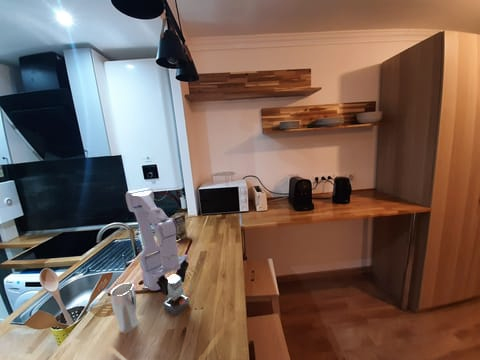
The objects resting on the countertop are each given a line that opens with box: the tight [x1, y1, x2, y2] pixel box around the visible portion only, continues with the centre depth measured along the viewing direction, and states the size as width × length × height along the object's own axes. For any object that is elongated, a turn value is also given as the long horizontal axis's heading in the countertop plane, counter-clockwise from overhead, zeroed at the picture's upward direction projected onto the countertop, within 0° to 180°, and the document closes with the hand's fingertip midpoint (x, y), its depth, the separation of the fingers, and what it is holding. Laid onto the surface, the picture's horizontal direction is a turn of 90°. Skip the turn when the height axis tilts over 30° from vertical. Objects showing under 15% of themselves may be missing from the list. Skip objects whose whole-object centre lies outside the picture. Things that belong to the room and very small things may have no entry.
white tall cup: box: [110, 282, 139, 334], centre depth 68 cm, size 7×7×15 cm
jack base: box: [163, 294, 190, 317], centre depth 75 cm, size 18×14×5 cm
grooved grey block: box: [166, 273, 184, 301], centre depth 74 cm, size 5×4×7 cm
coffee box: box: [168, 213, 188, 240], centre depth 134 cm, size 9×6×16 cm
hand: (174, 287), depth 74 cm, fingers open, 7 cm apart
